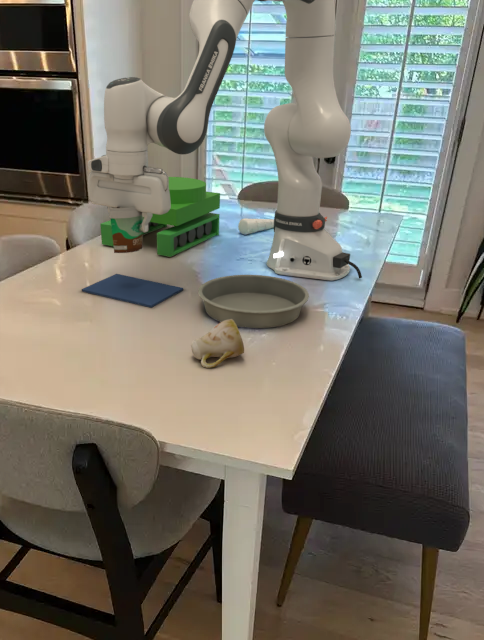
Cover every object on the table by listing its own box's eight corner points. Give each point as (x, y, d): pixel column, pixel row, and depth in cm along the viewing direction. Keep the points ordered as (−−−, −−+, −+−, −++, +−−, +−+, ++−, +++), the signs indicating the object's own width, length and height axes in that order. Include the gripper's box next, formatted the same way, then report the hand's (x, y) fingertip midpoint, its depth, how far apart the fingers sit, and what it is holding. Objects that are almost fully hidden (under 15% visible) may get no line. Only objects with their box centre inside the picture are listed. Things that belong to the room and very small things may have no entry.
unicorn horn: (298, 225, 203) (299, 210, 201) (247, 236, 190) (247, 220, 188) (288, 222, 206) (289, 208, 204) (236, 233, 193) (237, 217, 191)
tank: (89, 249, 174) (84, 190, 165) (154, 224, 200) (153, 171, 191) (161, 263, 164) (159, 201, 156) (219, 234, 191) (221, 180, 182)
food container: (138, 256, 134) (135, 210, 129) (111, 254, 135) (108, 208, 130) (153, 242, 145) (152, 198, 139) (129, 240, 146) (127, 197, 140)
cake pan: (310, 296, 145) (312, 278, 142) (302, 337, 124) (305, 316, 122) (210, 287, 149) (210, 269, 146) (186, 325, 128) (186, 305, 126)
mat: (183, 290, 147) (183, 287, 146) (151, 307, 136) (151, 305, 136) (116, 275, 155) (116, 273, 154) (81, 291, 144) (81, 289, 144)
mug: (182, 353, 117) (204, 306, 115) (226, 372, 120) (248, 326, 118) (189, 361, 110) (212, 310, 108) (236, 381, 113) (259, 332, 111)
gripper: (176, 167, 129) (176, 232, 136) (99, 157, 137) (103, 220, 144) (159, 171, 124) (161, 239, 131) (81, 161, 132) (86, 225, 139)
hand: (130, 229), depth 138 cm, fingers closed on food container, 6 cm apart
